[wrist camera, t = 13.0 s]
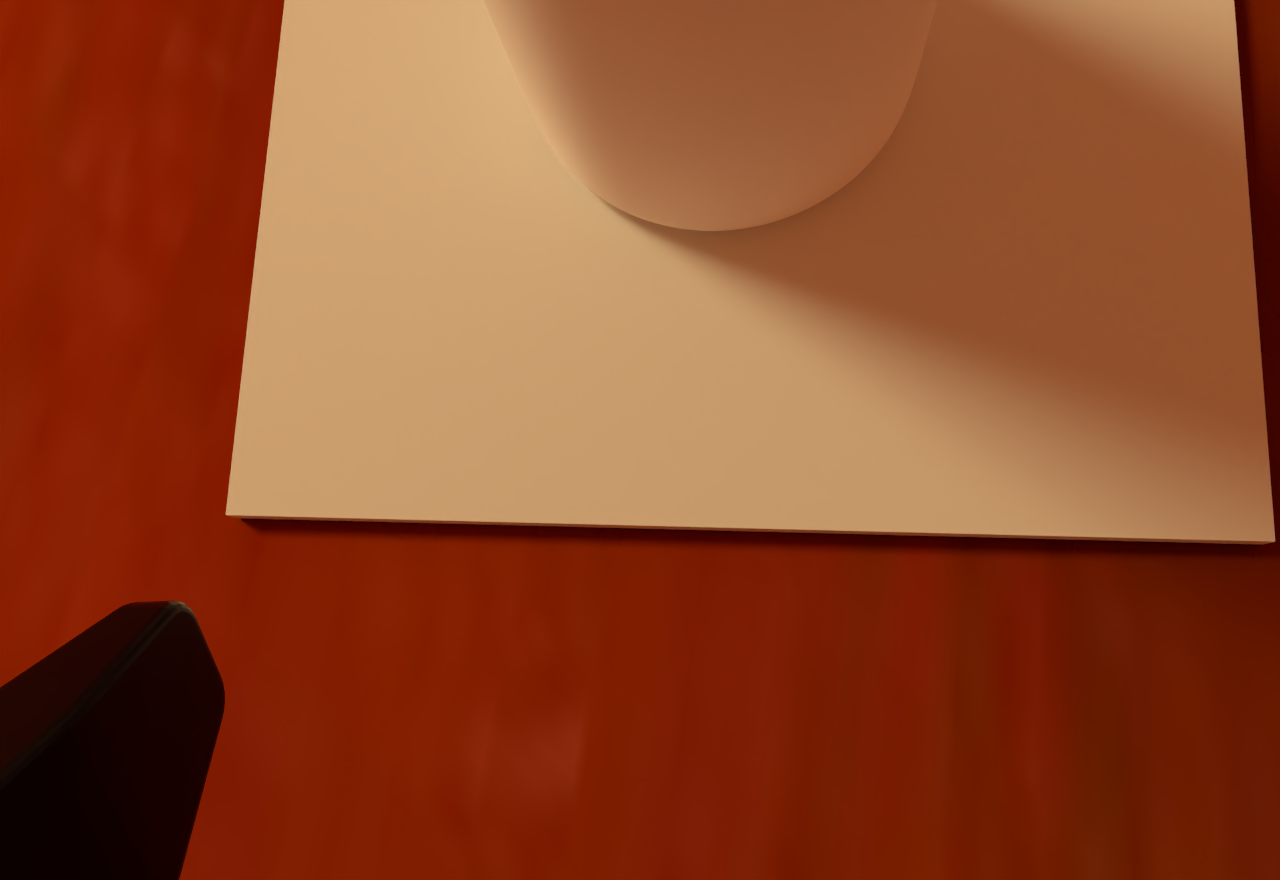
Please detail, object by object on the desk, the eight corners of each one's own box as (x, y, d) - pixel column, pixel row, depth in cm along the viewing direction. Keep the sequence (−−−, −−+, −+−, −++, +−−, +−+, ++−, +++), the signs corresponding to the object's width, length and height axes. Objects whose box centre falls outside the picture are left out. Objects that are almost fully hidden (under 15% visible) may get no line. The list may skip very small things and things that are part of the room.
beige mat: (1262, 544, 16) (1275, 541, 16) (237, 518, 18) (225, 515, 18) (1196, -359, 19) (1205, -380, 19) (329, -299, 21) (321, -318, 21)
